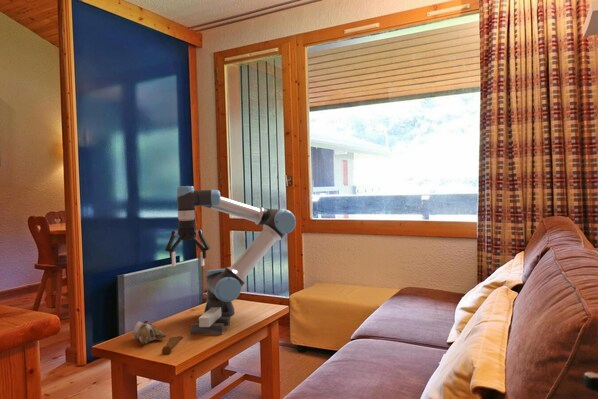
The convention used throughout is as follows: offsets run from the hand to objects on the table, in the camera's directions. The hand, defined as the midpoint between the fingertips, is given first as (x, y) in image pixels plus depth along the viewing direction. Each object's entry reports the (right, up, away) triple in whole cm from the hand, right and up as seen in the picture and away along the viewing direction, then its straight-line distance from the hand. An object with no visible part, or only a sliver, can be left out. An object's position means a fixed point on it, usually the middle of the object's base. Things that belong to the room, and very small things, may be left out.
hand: (188, 266), depth 188 cm
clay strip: (+11, -24, -4) cm, 27 cm away
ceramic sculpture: (-13, -30, -15) cm, 36 cm away
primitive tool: (-1, -30, -21) cm, 36 cm away
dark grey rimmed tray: (+11, -28, -4) cm, 31 cm away
